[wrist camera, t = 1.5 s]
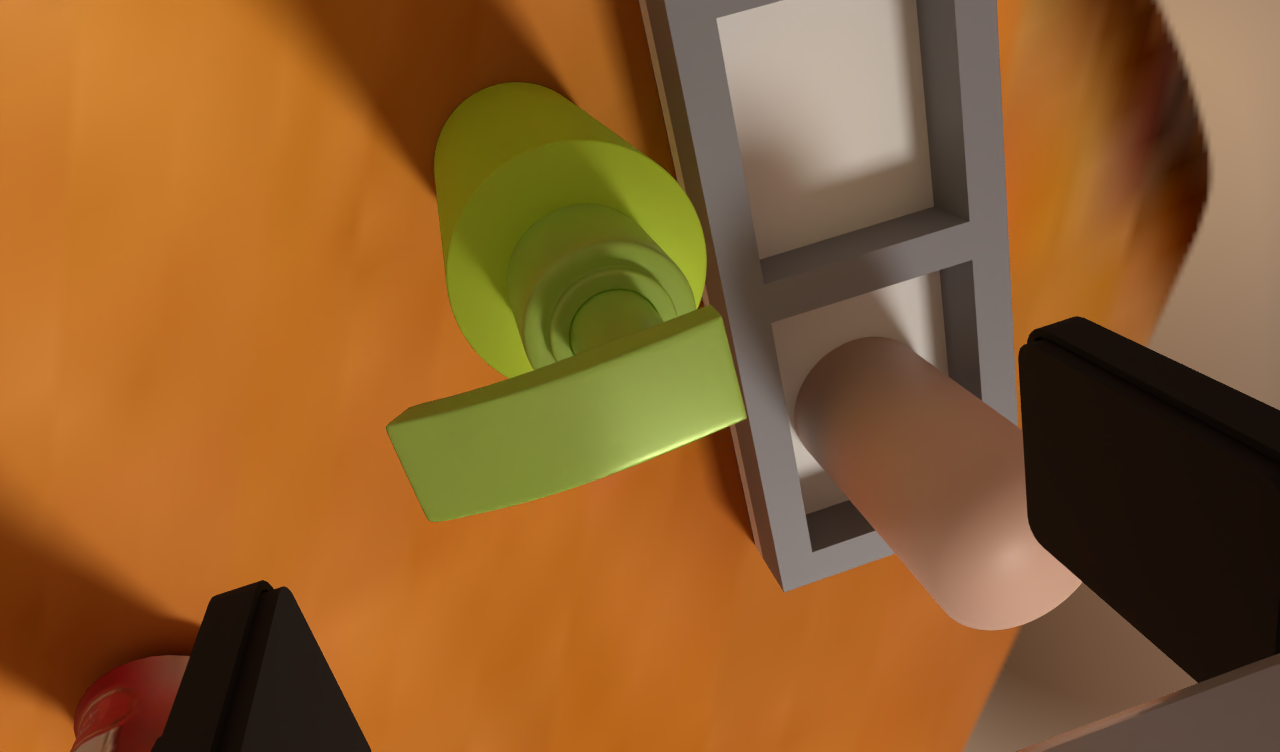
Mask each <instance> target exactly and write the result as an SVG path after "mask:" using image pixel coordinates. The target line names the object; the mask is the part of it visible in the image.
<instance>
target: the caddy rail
mask: <svg viewBox="0 0 1280 752" xmlns="http://www.w3.org/2000/svg"><path fill="white" fill-rule="evenodd" d="M639 4H640V9H641V13H642V18H643V23H644V27H645V32H646V37H647V41H648V46H649V51H650V56H651V60H652V65H653V70H654V74H655V79H656V84H657V88H658V93H659V98H660V102H661V107H662V112H663V116H664V121H665V126H666V130H667V135H668V140H669V144H670V149H671V154H672V158H673V163H674V168H675V172H676V177H677V182H678V184H679V185H680V186H681V187H682V189H683V190H684V191H685V193H686V194H687V196H688V197H689V199H690V201H691V203H692V204H693V206H694V208H695V210H696V213H697V215H698V218H699V220H700V223H701V226H702V230H703V234H704V238H705V244H706V254H707V269H706V279H705V285H704V290H703V294H702V299H703V303H704V307H705V306H708V305H712V306H713V307H714V308H715V309H716V310H717V311H718V312H719V314H720V315H721V316H722V319H723V323H724V327H725V331H726V335H727V339H728V343H729V347H730V351H731V355H732V359H733V363H734V367H735V371H736V375H737V379H738V383H739V387H740V391H741V395H742V399H743V403H744V407H745V411H746V415H747V418H746V419H745V420H743V421H740V422H738V423H736V424H733V425H731V426H730V429H731V434H732V439H733V443H734V448H735V453H736V457H737V462H738V467H739V472H740V476H741V481H742V486H743V490H744V495H745V500H746V504H747V509H748V514H749V518H750V523H751V528H752V532H753V537H754V542H755V546H756V548H757V549H758V551H759V552H760V554H761V556H762V557H763V559H764V561H765V562H766V564H767V565H768V567H769V569H770V570H771V572H772V574H773V575H774V577H775V578H776V580H777V582H778V583H779V585H780V587H781V588H782V590H783V591H784V592H786V591H789V590H792V589H795V588H798V587H801V586H804V585H806V584H809V583H812V582H815V581H818V580H821V579H824V578H826V577H829V576H832V575H835V574H838V573H841V572H844V571H846V570H849V569H852V568H855V567H858V566H861V565H864V564H866V563H869V562H872V561H875V560H878V559H881V558H884V557H886V556H889V555H892V554H896V555H897V556H898V557H899V559H900V560H901V561H902V562H903V563H904V564H905V566H906V567H907V568H908V569H909V570H910V571H911V573H912V574H913V575H914V576H915V577H916V578H917V580H918V581H919V582H920V583H921V584H922V585H923V587H924V588H925V589H926V590H927V591H928V592H929V594H930V595H931V596H932V597H933V598H934V600H935V601H936V602H937V603H938V604H939V605H940V607H941V608H942V609H943V610H944V611H945V612H946V613H947V615H948V616H950V617H951V618H952V619H954V620H955V621H957V622H958V623H960V624H962V625H964V626H967V627H970V628H974V629H980V630H1002V629H1007V628H1012V627H1016V626H1019V625H1023V624H1025V623H1028V622H1030V621H1033V620H1035V619H1037V618H1039V617H1040V616H1042V615H1044V614H1046V613H1048V612H1049V611H1051V610H1052V609H1054V608H1055V607H1056V606H1058V605H1059V604H1060V603H1062V602H1063V601H1064V600H1065V599H1067V598H1068V597H1069V596H1070V595H1071V594H1072V593H1073V592H1074V591H1075V590H1076V589H1077V588H1078V586H1079V585H1080V584H1081V583H1082V581H1081V580H1080V579H1079V578H1077V577H1076V576H1075V575H1074V574H1073V573H1072V572H1071V571H1069V570H1068V569H1067V568H1066V567H1065V566H1064V565H1063V564H1061V563H1060V562H1059V561H1058V560H1057V559H1056V558H1055V557H1053V556H1052V555H1051V554H1050V553H1049V552H1048V551H1047V550H1045V549H1044V548H1043V547H1042V546H1041V545H1040V544H1039V543H1038V541H1037V540H1036V538H1035V537H1034V535H1033V533H1032V531H1031V529H1030V526H1029V523H1028V517H1027V500H1026V483H1025V465H1024V448H1023V431H1022V430H1021V429H1020V428H1019V427H1018V421H1017V400H1016V380H1015V360H1014V340H1013V320H1012V300H1011V280H1010V260H1009V240H1008V220H1007V200H1006V179H1005V159H1004V139H1003V119H1002V99H1001V79H1000V59H999V39H998V19H997V0H639Z"/></svg>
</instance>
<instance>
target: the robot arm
mask: <svg viewBox="0 0 1280 752" xmlns="http://www.w3.org/2000/svg"><path fill="white" fill-rule="evenodd" d="M1018 361H1019V379H1020V396H1021V413H1022V431H1023V448H1024V465H1025V483H1026V500H1027V517H1028V523H1029V526H1030V529H1031V531H1032V533H1033V535H1034V537H1035V538H1036V540H1037V541H1038V543H1039V544H1040V545H1041V546H1042V547H1043V548H1044V549H1045V550H1047V551H1048V552H1049V553H1050V554H1051V555H1052V556H1053V557H1055V558H1056V559H1057V560H1058V561H1059V562H1060V563H1061V564H1063V565H1064V566H1065V567H1066V568H1067V569H1068V570H1069V571H1071V572H1072V573H1073V574H1074V575H1075V576H1076V577H1077V578H1079V579H1080V580H1081V581H1082V582H1084V584H1086V585H1087V586H1088V587H1089V588H1090V589H1091V590H1093V591H1094V592H1095V593H1096V594H1097V595H1098V596H1099V597H1100V598H1102V599H1103V600H1104V601H1105V602H1106V603H1107V604H1108V605H1110V606H1111V607H1112V608H1113V609H1114V610H1115V611H1117V612H1118V613H1119V614H1120V615H1121V616H1122V617H1123V618H1125V619H1126V620H1127V621H1128V622H1129V623H1130V624H1131V625H1132V626H1134V627H1135V628H1136V629H1137V630H1138V631H1139V632H1140V633H1142V634H1143V635H1144V636H1145V637H1146V638H1147V639H1149V640H1150V641H1151V642H1152V643H1153V644H1154V645H1155V646H1157V647H1158V648H1159V649H1160V650H1161V651H1162V652H1163V653H1165V654H1166V655H1167V656H1168V657H1169V658H1170V659H1172V660H1173V661H1174V662H1175V663H1176V664H1177V665H1178V666H1179V667H1181V668H1182V669H1183V670H1184V671H1185V672H1187V673H1188V674H1189V675H1190V676H1191V677H1192V678H1193V679H1195V680H1196V681H1197V682H1198V684H1195V685H1193V686H1190V687H1187V688H1184V689H1182V690H1179V691H1176V692H1174V693H1171V694H1169V695H1166V696H1163V697H1160V698H1157V699H1155V700H1152V701H1149V702H1147V703H1144V704H1141V705H1139V706H1136V707H1133V708H1131V709H1128V710H1125V711H1123V712H1120V713H1117V714H1115V715H1112V716H1110V717H1107V718H1104V719H1101V720H1098V721H1096V722H1093V723H1090V724H1088V725H1085V726H1082V727H1080V728H1077V729H1074V730H1072V731H1069V732H1066V733H1064V734H1061V735H1058V736H1056V737H1053V738H1050V739H1048V740H1045V741H1042V742H1040V743H1037V744H1034V745H1032V746H1029V747H1026V748H1024V749H1021V750H1018V751H1016V752H1280V410H1277V409H1275V408H1273V407H1271V406H1269V405H1267V404H1265V403H1263V402H1260V401H1258V400H1256V399H1254V398H1252V397H1250V396H1248V395H1246V394H1244V393H1242V392H1240V391H1237V390H1235V389H1233V388H1231V387H1229V386H1227V385H1225V384H1223V383H1220V382H1218V381H1216V380H1214V379H1212V378H1210V377H1208V376H1206V375H1204V374H1201V373H1199V372H1197V371H1195V370H1193V369H1191V368H1189V367H1187V366H1185V365H1182V364H1180V363H1178V362H1176V361H1174V360H1172V359H1170V358H1168V357H1166V356H1163V355H1161V354H1159V353H1157V352H1155V351H1153V350H1151V349H1149V348H1146V347H1144V346H1142V345H1140V344H1138V343H1136V342H1134V341H1132V340H1130V339H1127V338H1125V337H1123V336H1121V335H1119V334H1117V333H1115V332H1113V331H1111V330H1108V329H1106V328H1104V327H1102V326H1100V325H1098V324H1096V323H1094V322H1092V321H1089V320H1087V319H1085V318H1082V317H1078V316H1077V317H1072V318H1069V319H1066V320H1063V321H1060V322H1057V323H1054V324H1050V325H1047V326H1044V327H1041V328H1038V329H1035V330H1033V331H1032V332H1031V333H1030V335H1029V338H1028V340H1027V344H1025V345H1023V346H1022V347H1021V348H1020V351H1019V357H1018ZM151 752H371V749H370V747H369V745H368V743H367V741H366V739H365V737H364V735H363V733H362V731H361V729H360V727H359V725H358V723H357V721H356V719H355V717H354V715H353V713H352V711H351V709H350V707H349V705H348V703H347V701H346V699H345V697H344V695H343V693H342V691H341V689H340V687H339V685H338V683H337V681H336V679H335V677H334V675H333V673H332V671H331V669H330V667H329V665H328V663H327V661H326V659H325V657H324V655H323V653H322V651H321V649H320V647H319V646H318V644H317V642H316V640H315V638H314V636H313V634H312V632H311V630H310V628H309V626H308V624H307V622H306V620H305V618H304V616H303V614H302V612H301V610H300V608H299V606H298V604H297V602H296V600H295V598H294V596H293V594H292V593H291V591H290V590H289V589H288V588H287V587H284V586H283V587H280V588H277V589H273V587H272V586H271V585H270V584H269V583H268V582H266V581H264V580H262V581H259V582H256V583H253V584H249V585H246V586H243V587H240V588H237V589H234V590H231V591H228V592H225V593H222V594H219V595H216V596H214V597H212V599H211V600H210V602H209V604H208V607H207V610H206V613H205V616H204V618H203V621H202V624H201V627H200V630H199V632H198V635H197V638H196V641H195V644H194V647H193V649H192V652H191V655H190V658H189V661H188V663H187V666H186V669H185V672H184V675H183V678H182V680H181V683H180V686H179V689H178V692H177V694H176V697H175V700H174V703H173V706H172V709H171V711H170V714H169V717H168V720H167V723H166V725H165V728H164V731H163V734H162V735H161V736H160V737H159V738H157V740H156V742H155V744H154V746H153V747H152V749H151Z"/></svg>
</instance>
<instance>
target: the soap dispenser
mask: <svg viewBox="0 0 1280 752" xmlns="http://www.w3.org/2000/svg"><path fill="white" fill-rule="evenodd" d="M434 177H435V186H436V195H437V204H438V213H439V222H440V231H441V240H442V248H443V257H444V266H445V275H446V284H447V291H448V297H449V301H450V305H451V308H452V311H453V314H454V317H455V319H456V321H457V324H458V326H459V328H460V329H461V331H462V333H463V335H464V336H465V338H466V340H467V341H468V342H469V344H470V345H471V346H472V348H473V349H474V350H475V351H476V352H477V354H478V355H479V356H480V357H481V358H482V359H483V360H484V361H485V362H487V363H488V364H489V365H490V366H491V367H493V368H494V369H495V370H497V371H498V372H499V373H501V374H502V375H504V376H506V377H507V378H509V379H507V380H504V381H501V382H498V383H494V384H491V385H488V386H485V387H482V388H478V389H475V390H472V391H468V392H465V393H461V394H457V395H454V396H450V397H446V398H442V399H438V400H434V401H430V402H426V403H423V404H419V405H415V406H413V407H410V408H408V409H407V410H405V411H404V412H403V413H402V414H400V415H399V416H398V417H396V418H395V419H394V420H393V421H391V422H390V423H389V424H388V425H387V426H386V430H387V433H388V435H389V438H390V440H391V442H392V444H393V446H394V449H395V451H396V453H397V455H398V457H399V460H400V462H401V464H402V466H403V468H404V471H405V473H406V475H407V477H408V479H409V481H410V483H411V486H412V488H413V490H414V492H415V494H416V496H417V498H418V501H419V503H420V505H421V507H422V509H423V511H424V513H425V515H426V517H427V519H428V520H429V521H431V522H439V521H446V520H451V519H456V518H461V517H466V516H471V515H475V514H480V513H484V512H489V511H493V510H497V509H501V508H505V507H509V506H513V505H517V504H521V503H525V502H528V501H532V500H536V499H539V498H543V497H546V496H549V495H553V494H556V493H559V492H562V491H565V490H568V489H572V488H575V487H577V486H580V485H583V484H586V483H589V482H592V481H595V480H598V479H600V478H603V477H606V476H609V475H611V474H614V473H617V472H619V471H622V470H624V469H627V468H630V467H632V466H635V465H637V464H640V463H642V462H645V461H647V460H650V459H652V458H655V457H657V456H660V455H662V454H664V453H667V452H669V451H672V450H674V449H677V448H679V447H681V446H684V445H686V444H689V443H691V442H693V441H696V440H698V439H700V438H703V437H705V436H708V435H710V434H712V433H715V432H717V431H719V430H722V429H724V428H726V427H729V426H731V425H733V424H736V423H738V422H740V421H743V420H745V419H746V418H747V415H746V411H745V407H744V403H743V399H742V395H741V391H740V387H739V383H738V379H737V375H736V371H735V367H734V363H733V359H732V355H731V351H730V347H729V343H728V339H727V335H726V331H725V327H724V323H723V319H722V316H721V315H720V314H719V312H718V311H717V310H716V309H715V308H714V307H713V306H712V305H708V306H705V307H702V308H700V309H698V307H699V304H700V301H701V298H702V294H703V290H704V285H705V279H706V269H707V254H706V244H705V238H704V234H703V230H702V226H701V223H700V220H699V218H698V215H697V213H696V210H695V208H694V206H693V204H692V203H691V201H690V199H689V197H688V196H687V194H686V193H685V191H684V190H683V189H682V187H681V186H680V185H679V184H678V182H677V181H676V180H675V179H674V178H673V177H672V176H671V175H670V174H669V173H668V172H667V171H666V170H665V169H664V168H662V167H661V166H660V165H659V164H657V163H656V162H654V161H653V160H652V159H650V158H649V157H648V156H646V155H645V154H643V153H642V152H641V151H639V150H638V149H636V148H635V147H634V146H632V145H631V144H629V143H628V142H627V141H625V140H624V139H622V138H621V137H620V136H618V135H617V134H615V133H614V132H613V131H611V130H610V129H608V128H607V127H606V126H604V125H603V124H601V123H600V122H599V121H597V120H596V119H594V118H593V117H592V116H590V115H589V114H587V113H586V112H585V111H583V110H582V109H580V108H579V107H578V106H576V105H575V104H573V103H572V102H571V101H569V100H568V99H566V98H565V97H564V96H562V95H560V94H559V93H557V92H555V91H553V90H551V89H549V88H546V87H543V86H540V85H536V84H532V83H525V82H508V83H501V84H497V85H493V86H490V87H487V88H484V89H482V90H480V91H478V92H476V93H475V94H473V95H471V96H470V97H468V98H467V99H466V100H464V101H463V102H462V103H461V104H460V105H459V106H458V107H457V108H456V109H455V110H454V111H453V112H452V114H451V115H450V116H449V118H448V119H447V121H446V123H445V124H444V126H443V128H442V130H441V132H440V135H439V138H438V141H437V144H436V149H435V154H434Z"/></svg>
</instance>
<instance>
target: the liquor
mask: <svg viewBox="0 0 1280 752" xmlns="http://www.w3.org/2000/svg"><path fill="white" fill-rule="evenodd" d="M189 658H190V656H178V655H164V656H153V657H147V658H143V659H139V660H135V661H131V662H129V663H126V664H124V665H121V666H119V667H117V668H114V669H113V670H111V671H109V672H108V673H106V674H105V675H103V676H102V677H100V678H99V679H98V680H97V681H96V682H95V683H94V684H93V685H91V686H90V687H89V688H88V689H87V691H86V692H85V694H84V695H83V697H82V698H81V700H80V701H79V704H78V707H77V710H76V712H75V715H74V732H75V737H76V741H75V743H74V745H73V747H72V749H71V751H70V752H151V749H152V747H153V746H154V744H155V742H156V740H157V738H159V737H160V736H161V735H162V734H163V731H164V728H165V725H166V723H167V720H168V717H169V714H170V711H171V709H172V706H173V703H174V700H175V697H176V694H177V692H178V689H179V686H180V683H181V680H182V678H183V675H184V672H185V669H186V666H187V663H188V661H189Z"/></svg>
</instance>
